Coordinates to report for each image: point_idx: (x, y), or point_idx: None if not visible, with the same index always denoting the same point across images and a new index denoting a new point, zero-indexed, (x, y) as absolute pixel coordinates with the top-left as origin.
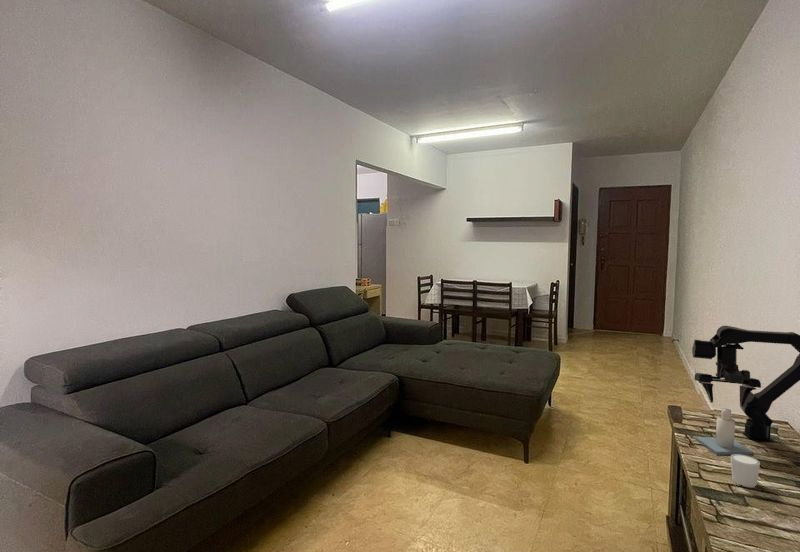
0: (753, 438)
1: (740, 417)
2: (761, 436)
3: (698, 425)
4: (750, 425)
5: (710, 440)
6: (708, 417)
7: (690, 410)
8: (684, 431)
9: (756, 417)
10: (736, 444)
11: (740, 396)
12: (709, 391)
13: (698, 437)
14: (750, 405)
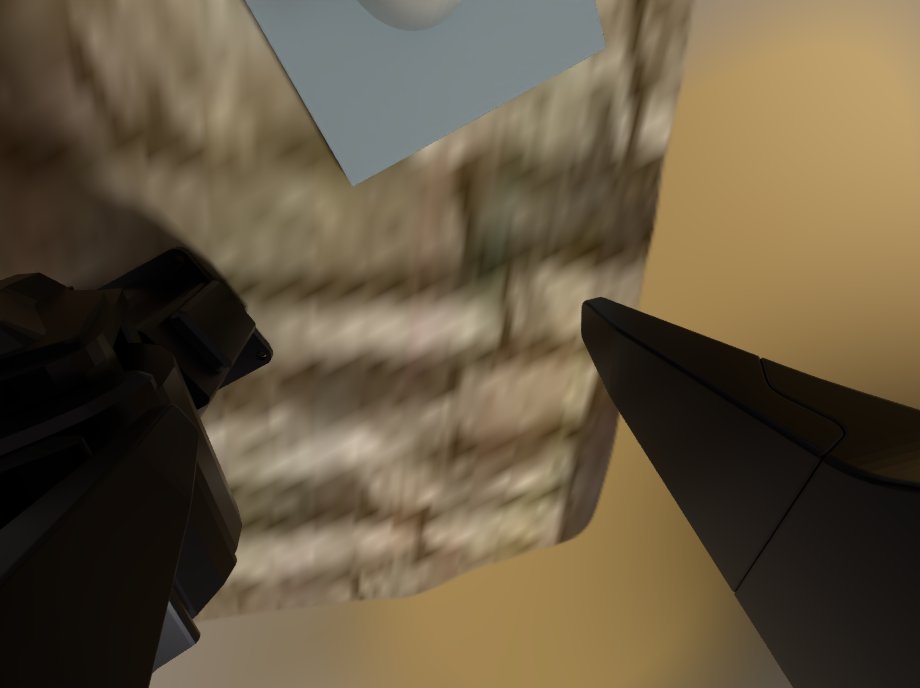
0: (195, 275)
1: (290, 588)
2: (127, 291)
3: (516, 364)
4: (182, 335)
5: (506, 17)
6: (445, 508)
7: (517, 549)
8: (623, 209)
9: (35, 316)
10: (308, 13)
11: (144, 595)
12: (815, 380)
13: (584, 51)
14: (10, 432)
